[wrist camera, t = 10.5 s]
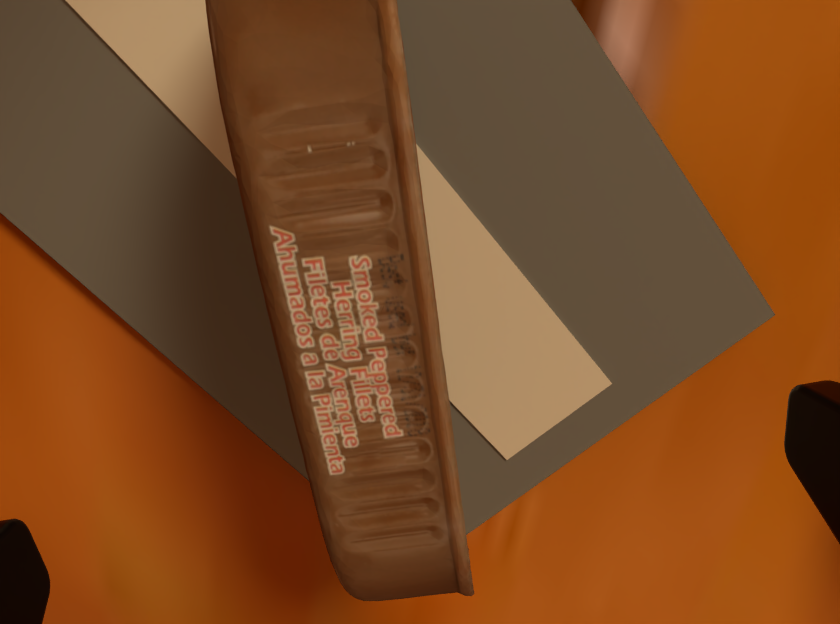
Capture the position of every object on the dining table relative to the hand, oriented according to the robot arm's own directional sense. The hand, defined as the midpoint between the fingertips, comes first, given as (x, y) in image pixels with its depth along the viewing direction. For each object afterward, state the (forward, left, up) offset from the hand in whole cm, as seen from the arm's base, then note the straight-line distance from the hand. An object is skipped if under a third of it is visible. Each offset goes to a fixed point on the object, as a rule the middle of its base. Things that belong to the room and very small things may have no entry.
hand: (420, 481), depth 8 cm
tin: (0, 0, -11) cm, 11 cm away
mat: (0, 0, -12) cm, 12 cm away
